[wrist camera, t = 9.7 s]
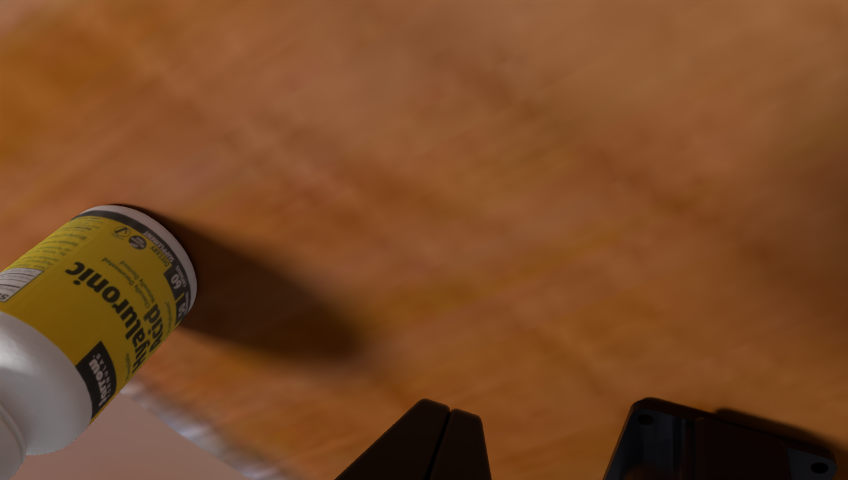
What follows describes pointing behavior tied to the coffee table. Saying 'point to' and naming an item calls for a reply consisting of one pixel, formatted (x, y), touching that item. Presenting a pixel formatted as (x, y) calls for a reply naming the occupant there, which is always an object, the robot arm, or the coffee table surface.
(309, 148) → the coffee table surface
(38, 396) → the supplement bottle
